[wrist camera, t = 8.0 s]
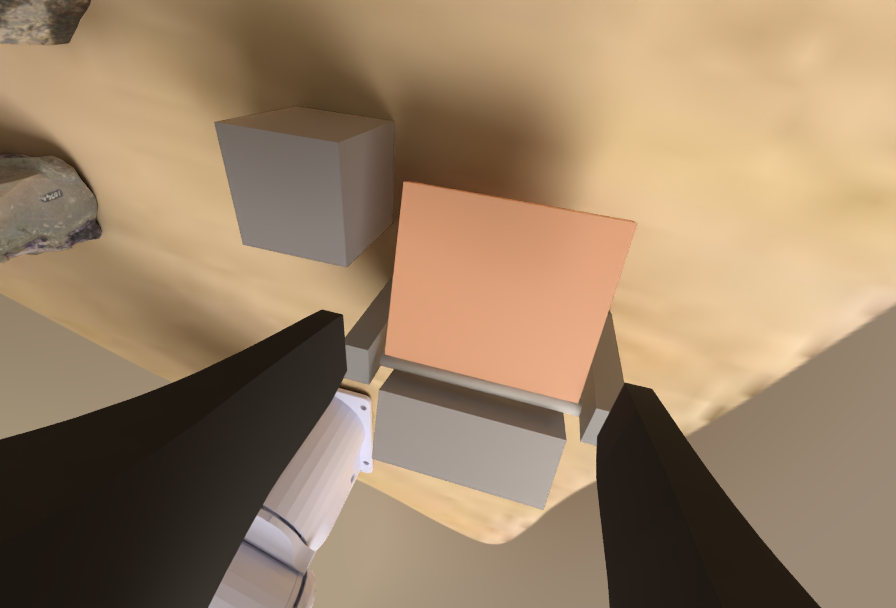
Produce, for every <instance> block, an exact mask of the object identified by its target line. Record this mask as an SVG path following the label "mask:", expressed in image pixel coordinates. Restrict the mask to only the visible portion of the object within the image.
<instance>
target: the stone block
mask: <svg viewBox="0 0 896 608" xmlns="http://www.w3.org/2000/svg"><path fill="white" fill-rule="evenodd" d="M90 1H91V0H0V44H24V45H57V44H65V43H69V42H70V40H71V38H72V36H73V34H74V32H75V30H76V28H77V26H78V24H79V21H80V19H81V17H82V16H83V14H84V13H85V12H86V10H87V8H88V7H89V5H90Z"/></svg>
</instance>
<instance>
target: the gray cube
mask: <svg viewBox="0 0 896 608" xmlns="http://www.w3.org/2000/svg"><path fill="white" fill-rule="evenodd" d="M214 123H215V127H216V132H217V136H218V140H219V144H220V149H221V153H222V157H223V161H224V166H225V170H226V174H227V178H228V183H229V187H230V191H231V195H232V200H233V204H234V208H235V212H236V217H237V221H238V225H239V230H240V234H241V238H242V242H243V245H247V246H252V247H256V248H261V249H265V250H270V251H274V252H279V253H283V254H288V255H292V256H297V257H301V258H306V259H310V260H315V261H319V262H324V263H328V264H333V265H337V266H342V267H348V266H349V265H350V264H351V263H352V262H353V261H354V260H355V259H356V258H357V257H358V256H359V255H360V254H361V253H362V252H363V251H364V250H365V249H366V248H367V247H368V246H369V245H370V244H371V243H372V242H373V241H374V240H375V239H377V238H378V237H379V236H380V235H381V234H382V233H383V232H384V231H385V230H386V229H387V228H388V227H389V226H390V225H391V224H392V223H393V185H394V121H390V120H383V119H377V118H370V117H363V116H357V115H350V114H344V113H337V112H331V111H324V110H318V109H311V108H305V107H298V106H296V107H291V108H286V109H280V110H275V111H270V112H264V113H259V114H254V115H249V116H243V117H238V118H233V119H227V120H222V121H217V122H214Z"/></svg>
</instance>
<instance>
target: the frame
mask: <svg viewBox="0 0 896 608" xmlns="http://www.w3.org/2000/svg"><path fill="white" fill-rule="evenodd" d="M392 282H393V276H392V278H391V279H390V280H389V281H388V283H387V284H386V285H385V287H384V288H383V289H382V290H381V292H380V293H379V294H378V296H377V297H376V298H375V300H374V301H373V302H372V303H371V305H370V306H369V307H368V309H367V310H366V311H365V312H364V314H363V315H362V316H361V318H360V319H359V320H358V322H357V323H356V324H355V325H354V327H353V328H352V329H351V331H350V332H349V333H348V334H347V336H346V337H345V347H346V360H347V372H346V374H345V376H344V378H346V379H350V380H353V381H357V382H361V383H364V384H368V385H369V384H370V383H371V381H372V379H373V378H374V376H375V374H376V372H377V371H378V369H379V367H380V366H381V365H380V357H381V354H382V352H383V350H385V346H386V337H387V328H388V319H389V310H390V301H391V292H392ZM623 385H624V379H623V374H622V368H621V363H620V358H619V352H618V347H617V341H616V336H615V330H614V325H613V320H612V314H611V313H609V312H608V315H607V318H606V321H605V324H604V327H603V330H602V333H601V336H600V339H599V342H598V345H597V348H596V351H595V354H594V357H593V360H592V363H591V366H590V369H589V372H588V375H587V378H586V381H585V384H584V388H583V391H582V394H581V397H580V399H582V409H581V413H580V415H579V419H580V442H584V443H588V444H592V445H595V446H597V435H598V433H599V432H600V430H601V428H602V426H603V424H604V422H605V420H606V418H607V416H608V414H609V412H610V410H611V408H612V406H613V405H614V403H615V401H616V399H617V397H618V395H619V393H620V391H621V389H622V387H623Z"/></svg>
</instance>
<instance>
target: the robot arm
mask: <svg viewBox="0 0 896 608" xmlns="http://www.w3.org/2000/svg"><path fill="white" fill-rule="evenodd" d="M346 372H347V360H346V347H345V334H344V322H343V315H342V314H338V313H334V312H330V311H326V310H320V311H318V312H316V313H314V314H312V315H310V316H308V317H306V318H304V319H302V320H300V321H298V322H297V323H295V324H293V325H291V326H289V327H287V328H285V329H283V330H282V331H280V332H278V333H276V334H274V335H272V336H270V337H268V338H266V339H264V340H263V341H261V342H259V343H257V344H255V345H253V346H251V347H249V348H247V349H245V350H243V351H241V352H239V353H237V354H235V355H233V356H231V357H228V358H226V359H224V360H222V361H220V362H218V363H216V364H214V365H212V366H210V367H207V368H205V369H203V370H201V371H199V372H197V373H194V374H192V375H190V376H188V377H185V378H183V379H180V380H178V381H176V382H173V383H171V384H168V385H166V386H163V387H161V388H158V389H156V390H153V391H151V392H148V393H145V394H143V395H140V396H138V397H135V398H132V399H129V400H126V401H123V402H121V403H118V404H114V405H111V406H108V407H106V408H103V409H100V410H97V411H94V412H91V413H88V414H85V415H82V416H79V417H76V418H73V419H70V420H67V421H63V422H60V423H56V424H53V425H50V426H46V427H43V428H40V429H36V430H33V431H29V432H26V433H23V434H18V435H15V436H11V437H8V438H4V439H1V440H0V608H312V606H313V603H314V598H315V575H314V572H313V571H312V570H311V569H308V567H309V565H310V563H311V561H312V559H313V557H314V555H315V551H316V550H317V549H318V548H319V547H320V546H321V545H322V544H323V543H324V541H325V540H326V539H327V537H328V535H329V533H330V531H331V529H332V527H333V525H334V523H335V521H336V519H337V517H338V515H339V513H340V511H341V509H342V507H343V505H344V503H345V501H346V499H347V496H348V495H349V492H350V490H351V488H352V486H353V484H354V482H355V480H356V478H357V476H358V474H359V472H360V471H362V472H366V473H371V472H372V470H373V459H372V451H373V437H372V405H371V399H370V398H369V397H368V396H366V395H363V394H360V393H356V392H352V391H349V390H345V389H341V388H339V386H340V384H341V382H342V380H343V378H344V376H345V374H346ZM596 479H597V489H598V498H599V508H600V517H601V525H602V534H603V543H604V552H605V560H606V569H607V578H608V589H609V603H610V608H821V607H820V606H819V605H818V604H817V603H816V602H815V601H814V599H813V598H812V597H811V596H810V595H809V594H808V593H807V592H806V590H805V589H804V588H803V587H802V586H801V585H800V583H799V582H798V581H797V580H796V579H795V578H794V577H793V576H792V575H791V573H790V572H789V571H788V570H787V569H786V568H785V566H784V565H783V564H782V563H781V562H780V561H779V560H778V558H777V557H776V556H775V555H774V554H773V552H772V551H771V550H770V549H769V548H768V546H767V545H766V544H765V543H764V542H763V540H762V539H761V538H760V537H759V536H758V534H757V533H756V532H755V531H754V529H753V528H752V527H751V526H750V524H749V523H748V522H747V520H746V519H745V518H744V517H743V515H742V514H741V513H740V512H739V510H738V509H737V508H736V507H735V505H734V504H733V503H732V501H731V500H730V499H729V497H728V496H727V495H726V493H725V492H724V491H723V489H722V488H721V487H720V485H719V484H718V483H717V481H716V480H715V479H714V477H713V476H712V475H711V473H710V472H709V470H708V469H707V468H706V466H705V465H704V464H703V462H702V461H701V459H700V458H699V456H698V455H697V454H696V452H695V451H694V450H693V448H692V447H691V445H690V444H689V442H688V441H687V439H686V438H685V436H684V435H683V433H682V432H681V431H680V429H679V428H678V426H677V425H676V423H675V422H674V420H673V419H672V417H671V416H670V414H669V413H668V411H667V410H666V408H665V407H664V405H663V404H662V403H661V401H660V400H659V398H658V397H657V395H656V394H655V393H654V391H653V390H652V389H650V388H646V387H641V386H637V385H633V384H629V383H624V385H623V387H622V389H621V391H620V393H619V395H618V397H617V399H616V401H615V403H614V405H613V406H612V408H611V410H610V412H609V414H608V416H607V418H606V420H605V422H604V424H603V426H602V428H601V430H600V432H599V433H598V435H597V453H596Z"/></svg>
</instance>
